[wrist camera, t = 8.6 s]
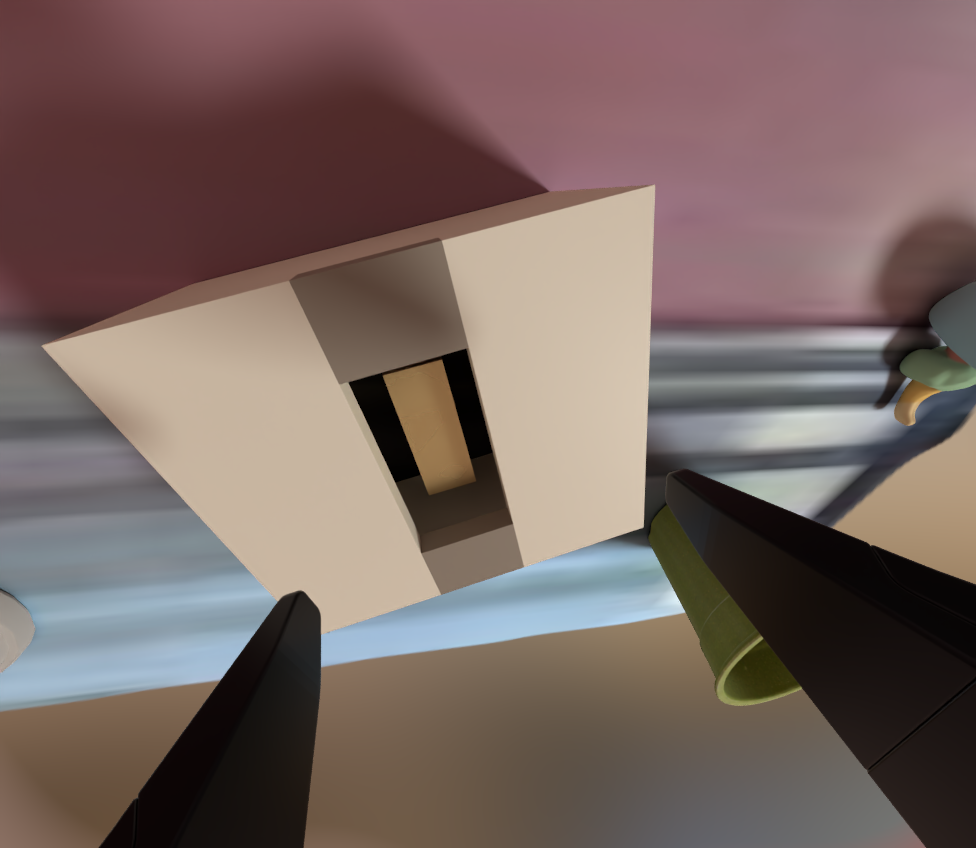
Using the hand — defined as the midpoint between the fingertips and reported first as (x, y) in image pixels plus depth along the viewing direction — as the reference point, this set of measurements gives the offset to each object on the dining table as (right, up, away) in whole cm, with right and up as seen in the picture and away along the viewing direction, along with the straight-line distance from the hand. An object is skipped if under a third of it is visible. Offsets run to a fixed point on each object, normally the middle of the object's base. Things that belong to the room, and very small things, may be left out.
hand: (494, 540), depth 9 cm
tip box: (-3, +5, +11) cm, 13 cm away
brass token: (-4, +5, +11) cm, 13 cm away
